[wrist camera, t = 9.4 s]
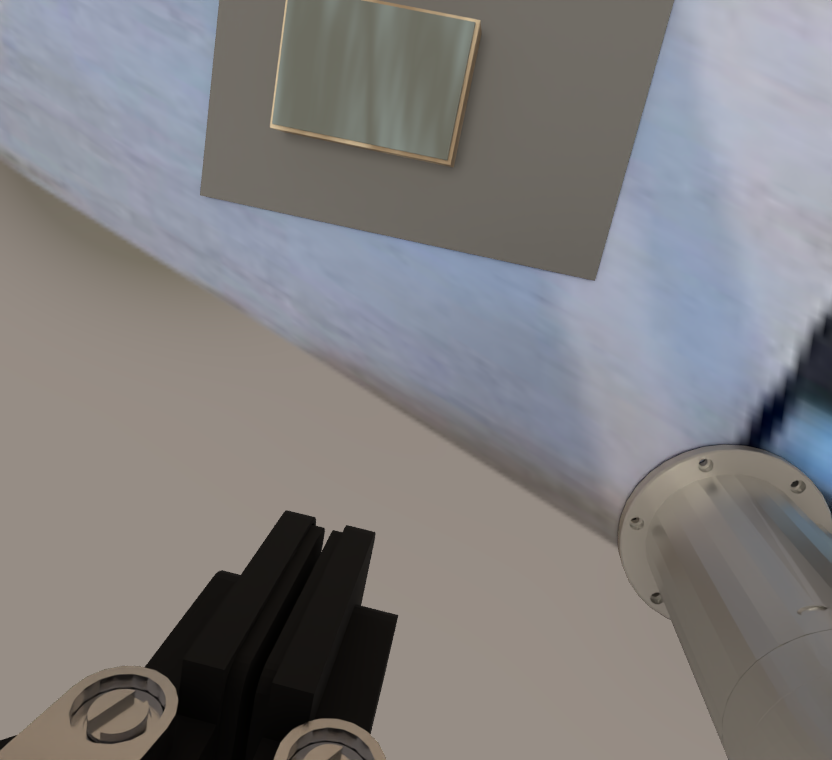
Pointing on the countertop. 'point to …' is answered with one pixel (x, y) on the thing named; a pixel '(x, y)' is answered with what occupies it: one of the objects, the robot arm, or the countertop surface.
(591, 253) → the mat
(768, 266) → the countertop surface
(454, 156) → the card box
